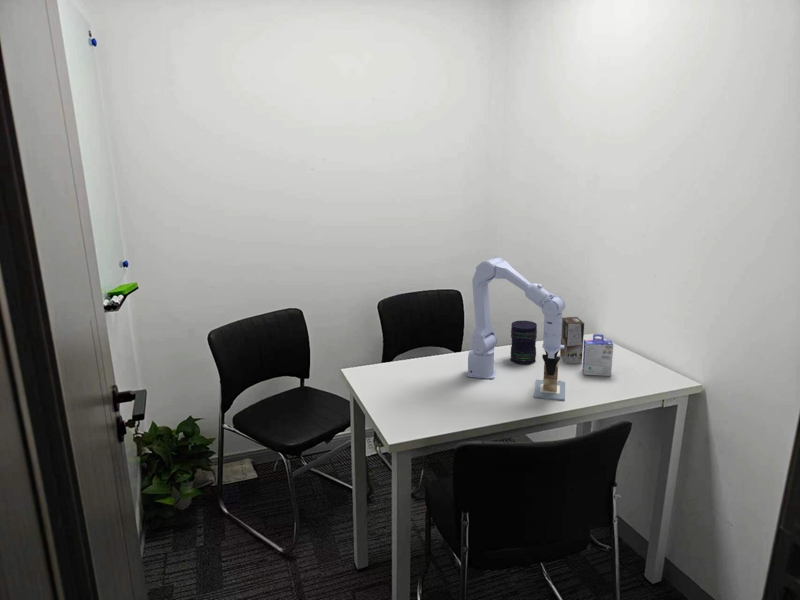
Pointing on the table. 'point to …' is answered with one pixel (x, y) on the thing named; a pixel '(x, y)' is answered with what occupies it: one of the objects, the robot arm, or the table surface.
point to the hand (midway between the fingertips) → (550, 370)
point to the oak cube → (550, 385)
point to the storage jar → (523, 342)
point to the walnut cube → (550, 375)
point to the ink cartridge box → (597, 356)
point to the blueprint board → (547, 394)
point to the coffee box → (572, 339)
